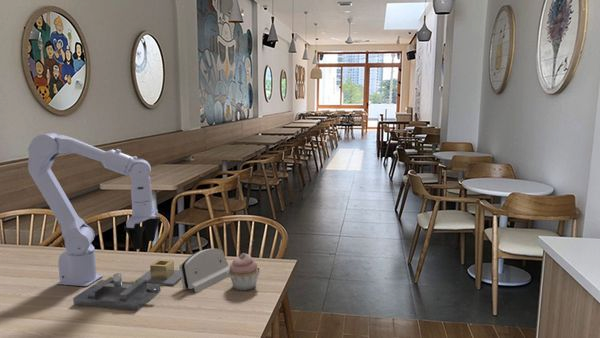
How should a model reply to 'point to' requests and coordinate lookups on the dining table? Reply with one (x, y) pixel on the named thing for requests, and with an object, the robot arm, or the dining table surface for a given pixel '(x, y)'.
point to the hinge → (203, 269)
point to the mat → (170, 281)
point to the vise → (118, 294)
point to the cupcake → (244, 272)
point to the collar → (162, 269)
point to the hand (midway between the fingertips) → (144, 244)
